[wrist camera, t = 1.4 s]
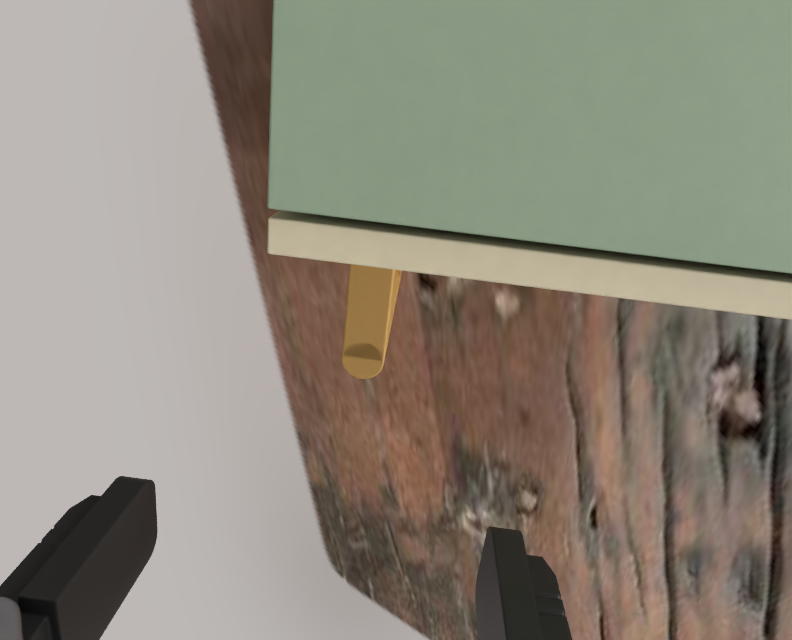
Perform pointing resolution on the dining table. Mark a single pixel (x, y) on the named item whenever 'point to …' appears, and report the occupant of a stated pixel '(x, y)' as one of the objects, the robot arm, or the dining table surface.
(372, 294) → the cupboard door
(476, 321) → the dining table surface
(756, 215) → the cupboard
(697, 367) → the dining table surface
